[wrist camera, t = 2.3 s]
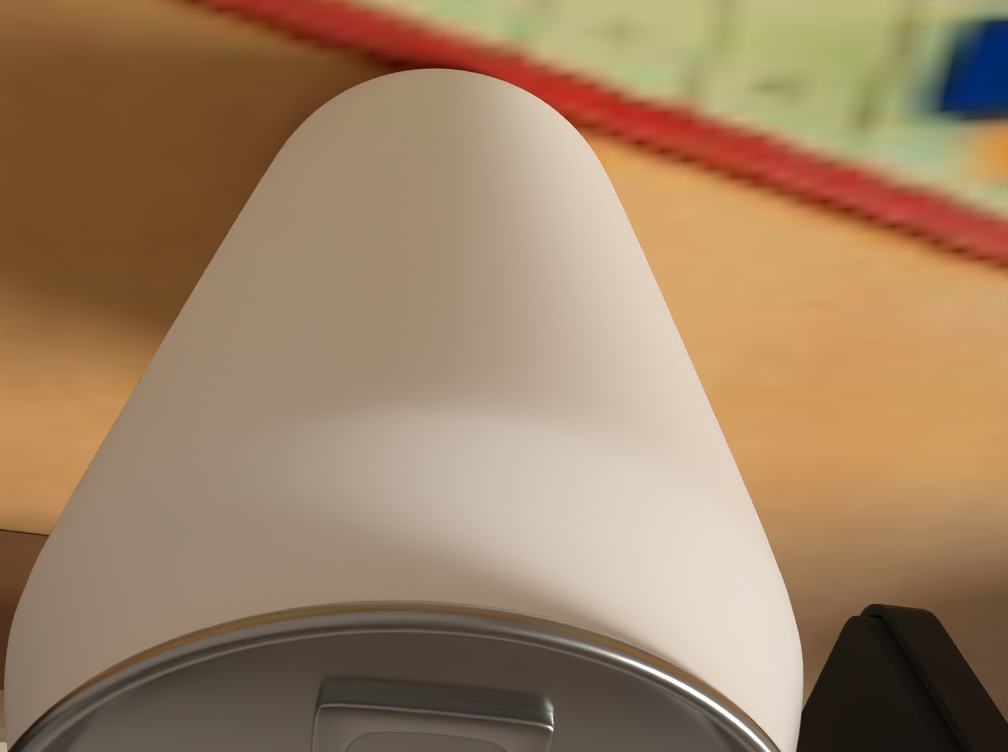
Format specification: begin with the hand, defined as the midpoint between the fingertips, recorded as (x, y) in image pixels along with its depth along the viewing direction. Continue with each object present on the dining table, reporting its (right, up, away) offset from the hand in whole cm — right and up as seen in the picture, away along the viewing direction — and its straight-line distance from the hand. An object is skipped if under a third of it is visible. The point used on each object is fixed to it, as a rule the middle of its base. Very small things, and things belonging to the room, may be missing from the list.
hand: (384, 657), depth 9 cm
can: (0, +5, +8) cm, 9 cm away
